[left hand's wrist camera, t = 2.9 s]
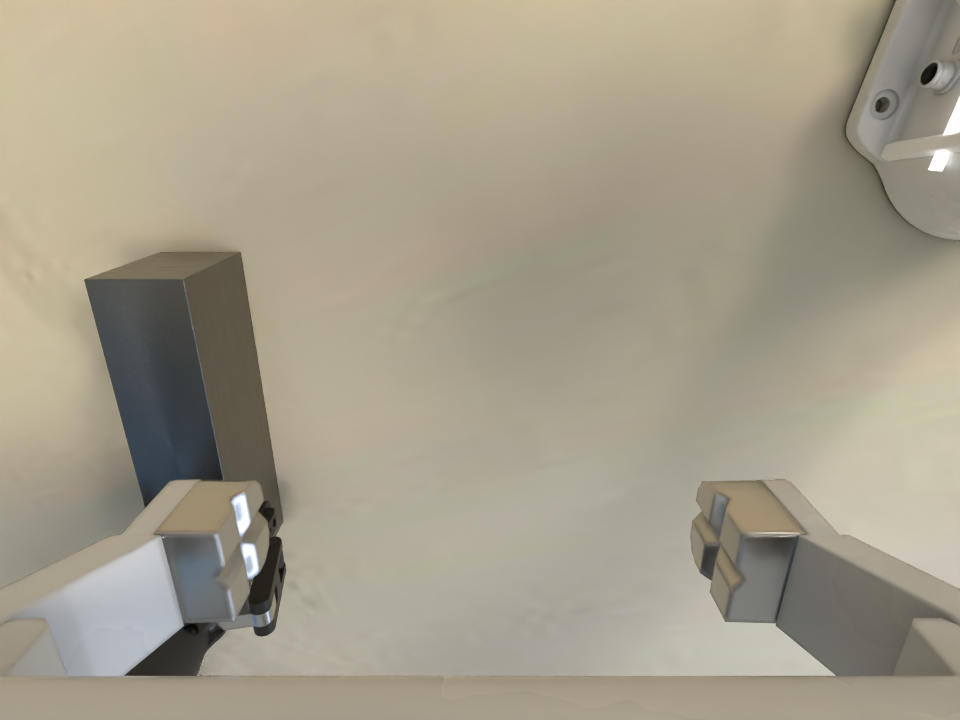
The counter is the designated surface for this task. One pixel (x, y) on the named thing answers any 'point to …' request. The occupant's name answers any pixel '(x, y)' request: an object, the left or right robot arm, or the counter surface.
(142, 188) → the counter surface
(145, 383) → the bar
